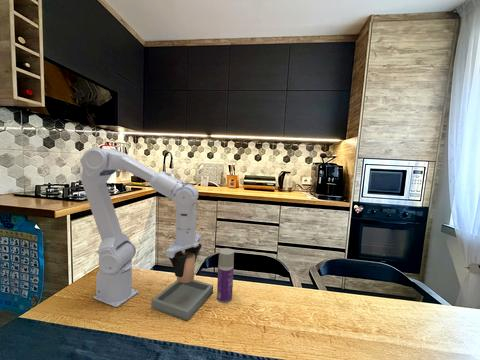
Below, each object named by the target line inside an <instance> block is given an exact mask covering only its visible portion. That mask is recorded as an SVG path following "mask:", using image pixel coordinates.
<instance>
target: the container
mask: <svg viewBox="0 0 480 360" xmlns="http://www.w3.org/2000/svg"><path fill="white" fill-rule="evenodd" d="M234 257H235V251H234V249H232V248H227V247H225V248H221V249H220V250H219V252H218V262H217V263H218V265H217V285H216V287H217V289H216V294H217V295H216V300H217V301H218V302H220V303H222V304H228V303H230V302H232V300H233V286H234V268H235V267H234V264H235V263H234V261H235V258H234Z"/></svg>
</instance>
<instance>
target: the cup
mask: <svg viewBox="0 0 480 360" xmlns="http://www.w3.org/2000/svg"><path fill="white" fill-rule="evenodd" d="M182 253H183V254H185V255H188V256H187V258H186V261H185V265H184V273H183V276H182V277H177V276H176V280H177V281H178V282H181V283H188V282H191V281H193V280H195V267H196V266H195V264H196V261H195V254H194V253H192V252H185V251H182Z"/></svg>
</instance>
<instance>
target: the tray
mask: <svg viewBox="0 0 480 360" xmlns="http://www.w3.org/2000/svg"><path fill="white" fill-rule="evenodd" d="M213 293H214V284H211V283H207V282H203V281H200V280H196V279H194V280H193V281H191V282H188V283H181V282H178V281H177V279H176V280H175V281H174V282H172V283H171V284H170V285H168V287H166V288H165V289H164V290H162V291H161V292H160V293H158V294H157V295H156V296H155V297H153V298H152V299H151V301H150V302H151V305H150V306H151V307H150V308H151V309H152V310H155V311H157V312H161V313H163V314H166V315H168V316H171V317H174V318H176V319H180V320H183V321H185V322H189V321H190V319H191V318H192V317H193V316H194V315H195V314H196V313H197V312H198V310H199V309H200V308H201V307H202V305H204V303H206V301H208V299H209V298H210V296H212V294H213Z"/></svg>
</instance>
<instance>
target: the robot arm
mask: <svg viewBox="0 0 480 360" xmlns="http://www.w3.org/2000/svg"><path fill="white" fill-rule="evenodd" d="M79 162H80V164H81V167H82V173H81V174H82V175H81V184H82V186H83V190H84V192H85V196H86V199H87V201H88V204H89V207H90V211H91V213H92V216H93V220H94V222H95V225H96V228H97V231H98V233H99V236H100V240H101V242H100V244H99V246H98V249H97V253H98V268H99V269H98V271H97V273H96V275H95V276H96V277H95V278H96V280H95V283H96V284H95V285H96V287H95V290H96V291H95V292H96V293H95V294H96V295H94V296H93V299H94V300H96V301H99V302H101V303H105V304H107V305H108V306H109V305H110V306H112V307H114V308H118V307H120V306H121V305H123V304H124V303H125V302H127V301H128V300H130V299H131V298H133V297H134V296H136V295H137V294H138V293H139V290H137V289H135V288H132V287H133V278H132V277H133V263H132V262H133V259H134V258H135V256H136V253H137V248H136V246H135V244H133V242H132V241H131V239H130V236H128V235H127V234H125V233H123V231H122V228H121V225H120V222H119V218H118V215H117V213H116V209H115V207H114V203H113V201H112V200H113V199H112V197H111V194H110V191H109V188H108V186H107V185H108V184H107V182H108V180H109V179H110V178H111V177H112V175H114V174H115V173H116V172H117V171H121V170H123V171H126V172H128V173H131V175H134V176H136V177H138V178H140V179H143V180H144V181H146V182H149V184H150V186H151V189H153V190H154V191H156V192H158V193H159V194H161V195H163V196H165V197H167V198H169V199H170V200H173V202H174V204H175V205H176V211H175V239H174V240H175V241H174V242H173V243H172V244H171V246H170V247H168V248H167V249H166V250H165V257H166V258H168V259H169V261H170V263H171V265H172V268H173V271H174V276H175V277H176V278H177V277H182V276H183V273H184V265H185V261H186V258H187V256H188V255H185V254H183V253H182V252H183V251H184V252H192V253H194V254H195V262H196V261H197V258H198V254H199V253H200V251H201V249H202V246H203V244H202V243H200V242H201V241H202V234H199V233H197V202H196V201H198V198H199V190H198V188H196V186H194V185H193V184H191V183H187V182H186V181H184V180H179V179H178V178H176V177H174V176H173V175H172V172H170V171H163V170H161V171H159V172H157V171H155V170H153V169H152V168H150V167H148V166H146V165H145V164H143V163H142V162H140V161H138V160H137V159H135V158H133V157H132V156H130V155H128V154H127V153H125V152H121V151H120V150H119V149H115V148H110V149H109V148H99V147H91V148H89V149H87V150H86V151H85V152H84V154H83V155H82V156H81V158H80V159H79ZM186 183H187V184H186Z"/></svg>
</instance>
